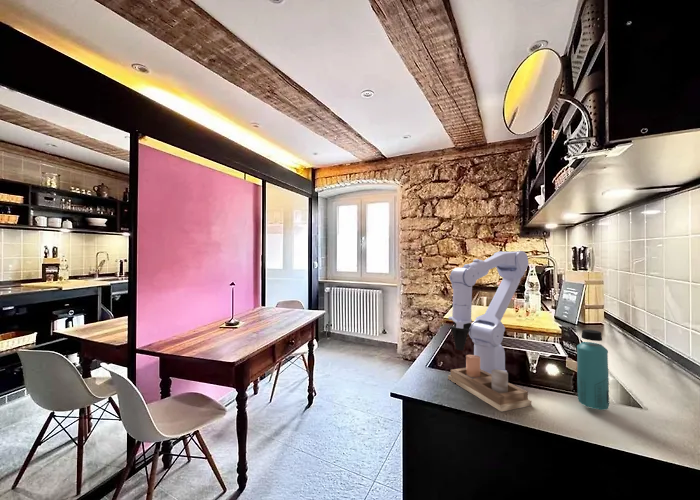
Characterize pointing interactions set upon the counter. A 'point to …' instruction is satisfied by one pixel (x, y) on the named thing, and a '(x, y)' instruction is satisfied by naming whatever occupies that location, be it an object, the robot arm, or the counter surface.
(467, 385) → the socket holder
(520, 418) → the counter surface
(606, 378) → the beverage bottle
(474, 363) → the peach rounded capsule
